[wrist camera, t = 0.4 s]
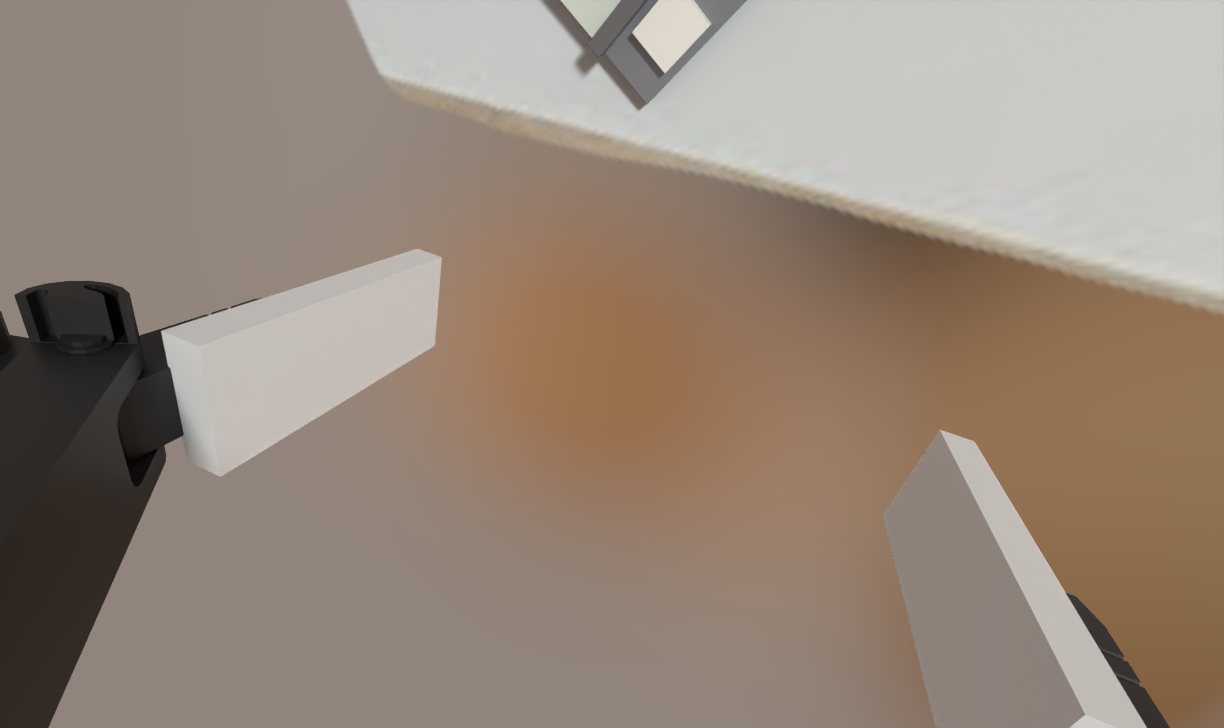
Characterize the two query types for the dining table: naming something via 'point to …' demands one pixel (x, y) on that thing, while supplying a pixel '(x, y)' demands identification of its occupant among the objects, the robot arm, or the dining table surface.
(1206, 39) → the dining table surface
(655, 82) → the board
